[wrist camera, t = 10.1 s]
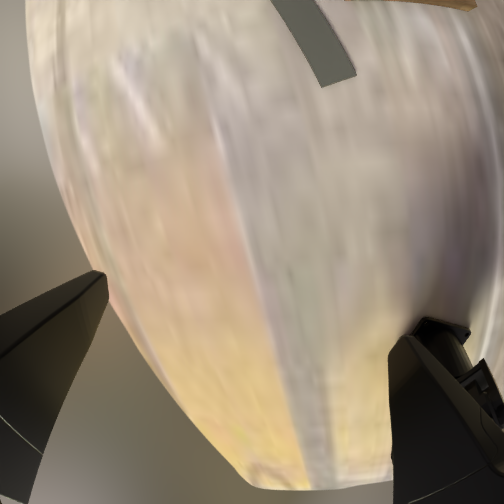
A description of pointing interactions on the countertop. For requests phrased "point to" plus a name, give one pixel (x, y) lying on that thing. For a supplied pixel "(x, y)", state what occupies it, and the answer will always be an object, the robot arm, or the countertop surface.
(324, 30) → the strip
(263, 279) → the countertop surface
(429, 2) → the keeper frame
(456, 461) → the robot arm
